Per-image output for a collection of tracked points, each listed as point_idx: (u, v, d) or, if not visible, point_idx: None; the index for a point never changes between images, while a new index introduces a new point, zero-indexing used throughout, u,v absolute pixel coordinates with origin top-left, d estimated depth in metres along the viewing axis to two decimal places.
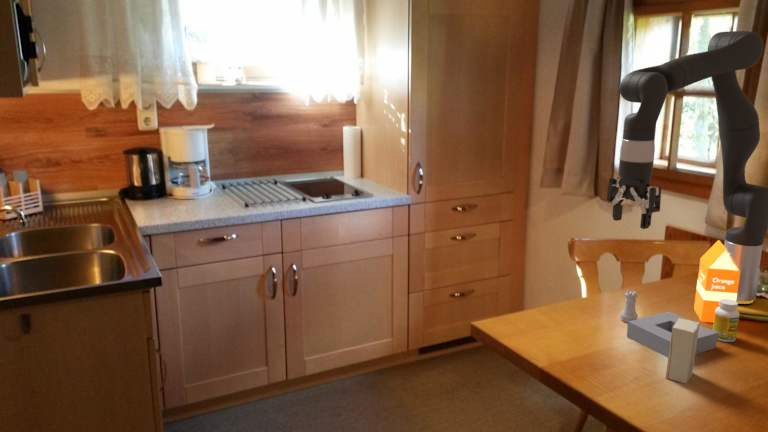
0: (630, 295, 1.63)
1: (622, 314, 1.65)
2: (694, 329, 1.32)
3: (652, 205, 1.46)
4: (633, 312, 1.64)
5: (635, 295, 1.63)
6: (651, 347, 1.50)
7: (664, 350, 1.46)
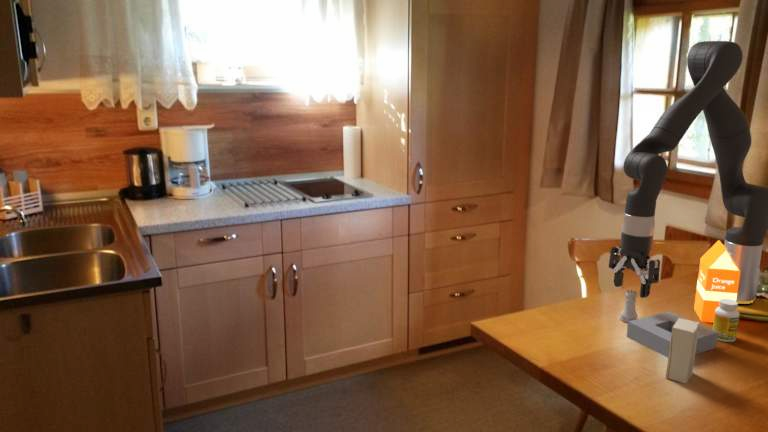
0: (630, 295, 1.63)
1: (622, 314, 1.65)
2: (694, 329, 1.32)
3: (652, 277, 1.56)
4: (633, 312, 1.64)
5: (635, 295, 1.63)
6: (651, 347, 1.50)
7: (664, 350, 1.46)
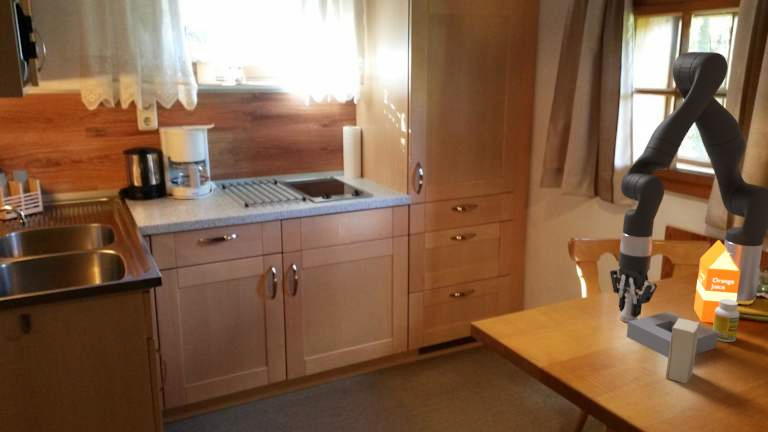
0: (630, 295, 1.63)
1: (622, 314, 1.65)
2: (694, 329, 1.32)
3: (644, 299, 1.59)
4: None
5: None
6: (651, 347, 1.50)
7: (664, 350, 1.46)
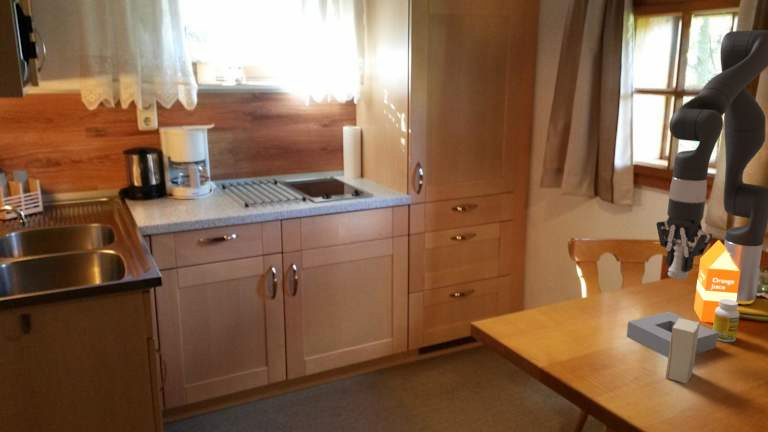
0: (680, 248, 1.46)
1: (671, 269, 1.48)
2: (694, 329, 1.32)
3: (697, 251, 1.42)
4: None
5: None
6: (651, 347, 1.50)
7: (664, 350, 1.46)
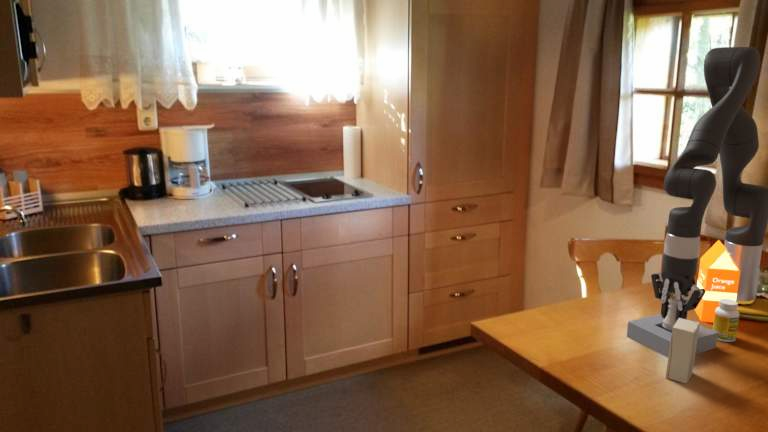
0: (674, 301, 1.49)
1: (665, 321, 1.51)
2: (694, 329, 1.32)
3: (691, 306, 1.45)
4: None
5: None
6: (651, 347, 1.50)
7: (664, 350, 1.46)
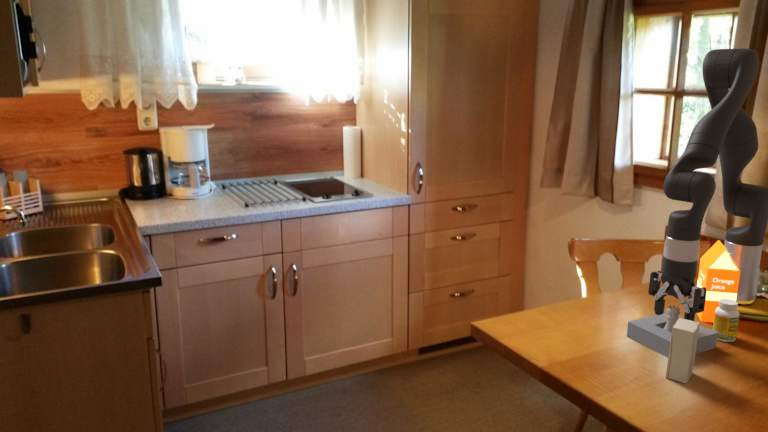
0: (673, 311, 1.50)
1: None
2: (694, 329, 1.32)
3: (697, 307, 1.44)
4: None
5: (678, 311, 1.50)
6: (651, 347, 1.50)
7: (664, 350, 1.46)
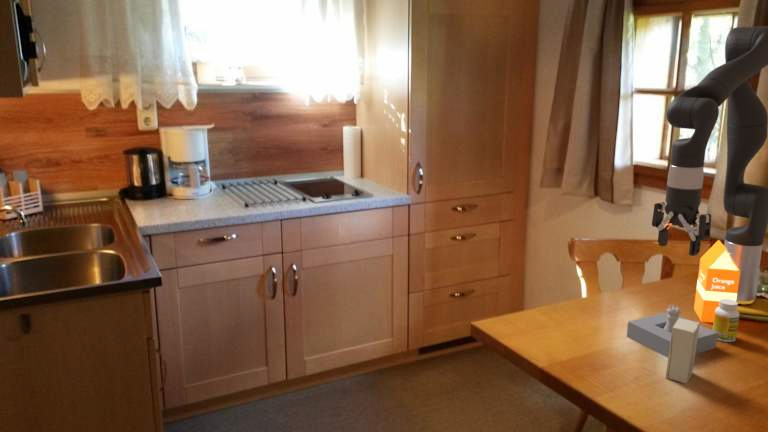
0: (673, 311, 1.50)
1: None
2: (694, 329, 1.32)
3: (703, 233, 1.43)
4: None
5: (679, 311, 1.50)
6: (651, 347, 1.50)
7: (664, 350, 1.46)
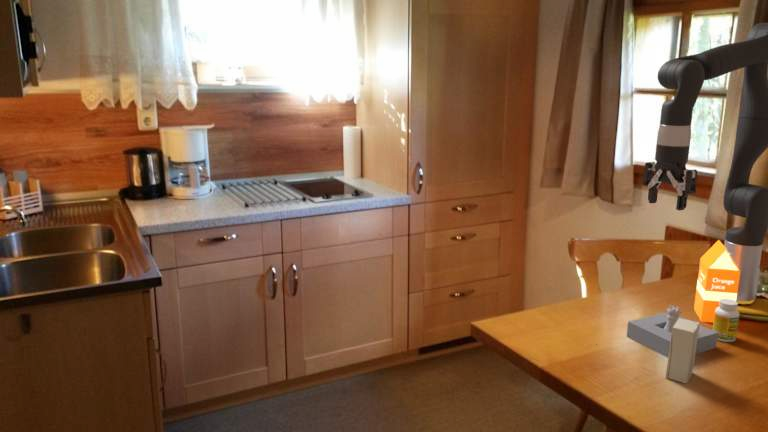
0: (673, 311, 1.50)
1: None
2: (694, 329, 1.32)
3: (689, 188, 1.53)
4: None
5: (679, 311, 1.50)
6: (651, 347, 1.50)
7: (664, 350, 1.46)
